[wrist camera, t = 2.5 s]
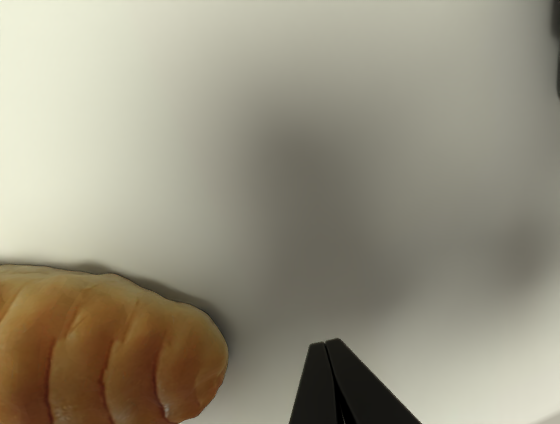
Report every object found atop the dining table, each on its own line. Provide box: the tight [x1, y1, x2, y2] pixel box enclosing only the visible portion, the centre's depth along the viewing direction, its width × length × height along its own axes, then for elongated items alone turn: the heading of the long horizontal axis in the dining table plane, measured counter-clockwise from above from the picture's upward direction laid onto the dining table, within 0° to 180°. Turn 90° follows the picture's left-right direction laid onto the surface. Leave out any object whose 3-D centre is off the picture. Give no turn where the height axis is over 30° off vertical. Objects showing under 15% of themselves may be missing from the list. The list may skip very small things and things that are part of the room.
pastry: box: [0, 264, 228, 424], centre depth 9 cm, size 9×7×4 cm
